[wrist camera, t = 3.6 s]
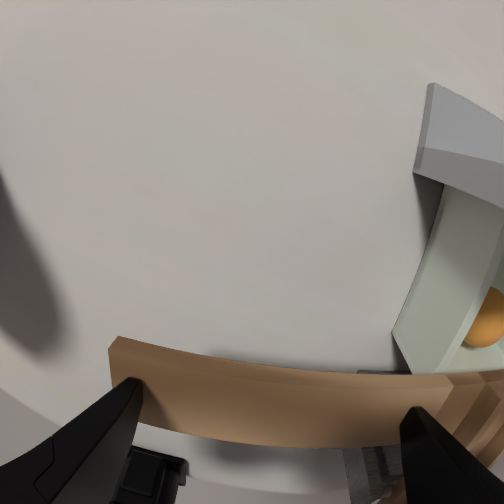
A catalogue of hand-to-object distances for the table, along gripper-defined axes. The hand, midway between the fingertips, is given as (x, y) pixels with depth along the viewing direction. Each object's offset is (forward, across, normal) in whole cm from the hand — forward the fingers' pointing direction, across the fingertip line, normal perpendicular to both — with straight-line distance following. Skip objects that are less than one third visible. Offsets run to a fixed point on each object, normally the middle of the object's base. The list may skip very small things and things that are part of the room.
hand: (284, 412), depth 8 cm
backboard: (+6, -10, -9) cm, 15 cm away
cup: (+6, -10, -3) cm, 13 cm away
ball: (+4, -10, -2) cm, 11 cm away
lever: (0, -4, +8) cm, 9 cm away
